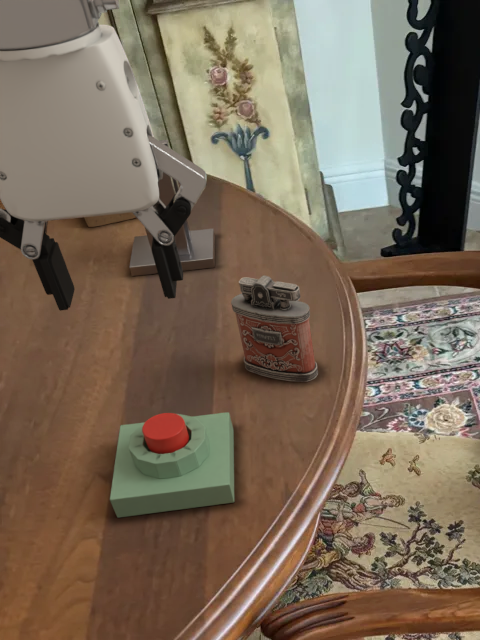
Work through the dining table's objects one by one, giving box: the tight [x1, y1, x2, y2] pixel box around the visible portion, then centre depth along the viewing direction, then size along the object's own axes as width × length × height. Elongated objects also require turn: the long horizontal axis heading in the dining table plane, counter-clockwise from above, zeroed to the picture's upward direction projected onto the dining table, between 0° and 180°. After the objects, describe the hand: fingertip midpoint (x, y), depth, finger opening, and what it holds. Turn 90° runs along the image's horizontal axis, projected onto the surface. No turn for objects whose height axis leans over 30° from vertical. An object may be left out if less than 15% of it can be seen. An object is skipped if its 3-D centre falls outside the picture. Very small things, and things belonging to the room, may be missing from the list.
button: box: [142, 412, 189, 454], centre depth 68 cm, size 4×4×2 cm
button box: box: [109, 411, 235, 519], centre depth 69 cm, size 10×10×4 cm
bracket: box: [129, 139, 216, 277], centre depth 93 cm, size 10×8×13 cm
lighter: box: [230, 274, 319, 383], centre depth 77 cm, size 8×3×10 cm, turn 70°
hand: (119, 293), depth 58 cm, fingers open, 7 cm apart
